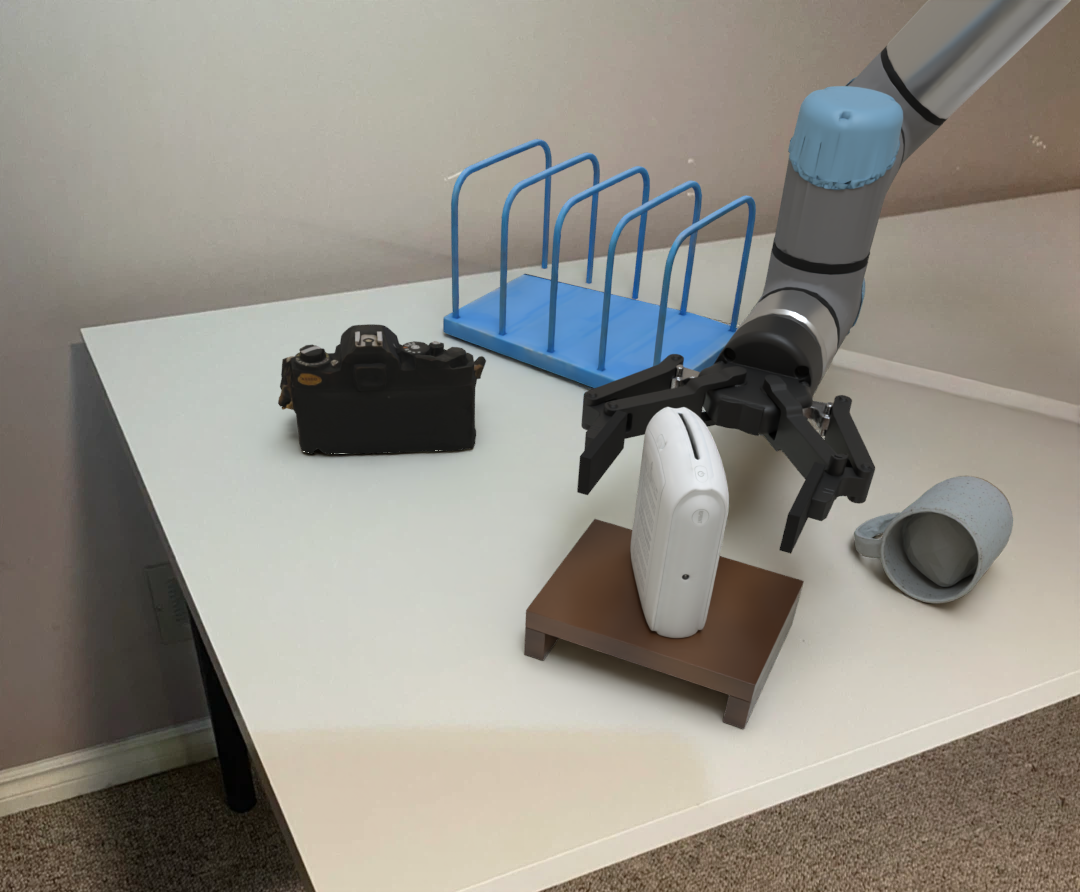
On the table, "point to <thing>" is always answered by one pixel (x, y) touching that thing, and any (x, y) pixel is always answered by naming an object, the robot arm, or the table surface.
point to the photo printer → (678, 522)
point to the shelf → (622, 631)
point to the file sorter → (590, 293)
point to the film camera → (381, 394)
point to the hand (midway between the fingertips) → (683, 504)
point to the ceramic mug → (940, 539)
